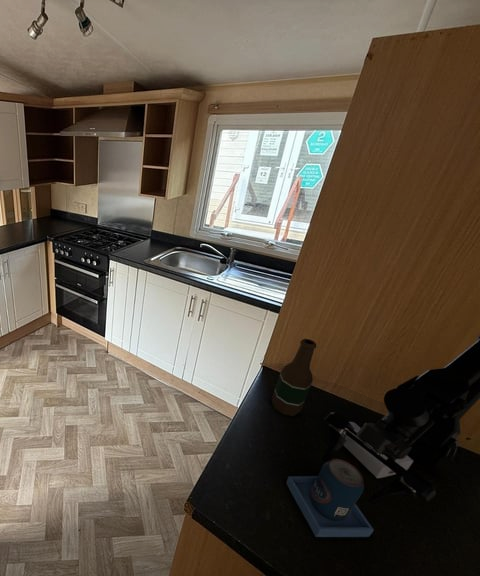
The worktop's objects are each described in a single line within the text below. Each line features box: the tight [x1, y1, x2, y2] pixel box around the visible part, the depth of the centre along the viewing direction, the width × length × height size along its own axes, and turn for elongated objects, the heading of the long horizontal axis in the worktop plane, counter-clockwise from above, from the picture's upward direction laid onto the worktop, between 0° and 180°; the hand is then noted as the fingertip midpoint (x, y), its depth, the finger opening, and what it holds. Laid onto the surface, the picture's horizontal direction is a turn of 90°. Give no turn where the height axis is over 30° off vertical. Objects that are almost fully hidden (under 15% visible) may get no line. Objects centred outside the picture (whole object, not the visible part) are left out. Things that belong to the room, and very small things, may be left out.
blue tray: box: [285, 475, 375, 538], centre depth 68 cm, size 11×11×3 cm
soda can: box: [310, 458, 365, 521], centre depth 66 cm, size 7×7×12 cm
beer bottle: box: [271, 338, 317, 417], centre depth 89 cm, size 8×8×24 cm
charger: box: [343, 421, 413, 479], centre depth 81 cm, size 5×9×15 cm
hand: (345, 480), depth 65 cm, fingers open, 9 cm apart
